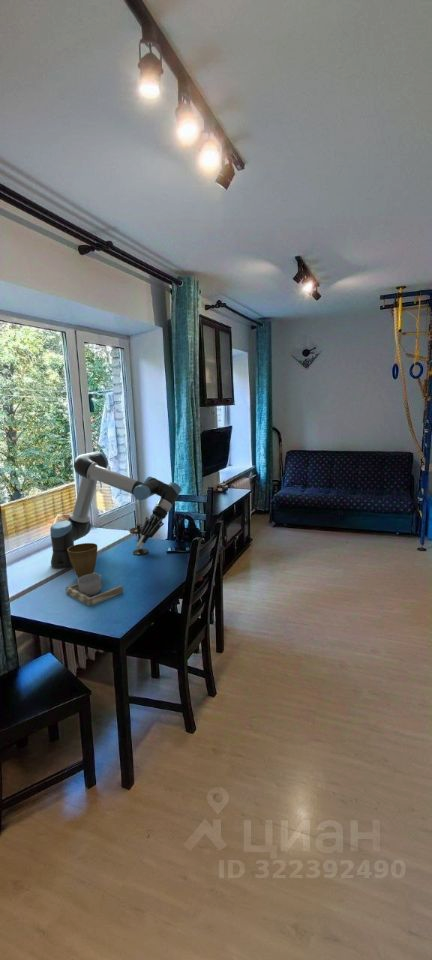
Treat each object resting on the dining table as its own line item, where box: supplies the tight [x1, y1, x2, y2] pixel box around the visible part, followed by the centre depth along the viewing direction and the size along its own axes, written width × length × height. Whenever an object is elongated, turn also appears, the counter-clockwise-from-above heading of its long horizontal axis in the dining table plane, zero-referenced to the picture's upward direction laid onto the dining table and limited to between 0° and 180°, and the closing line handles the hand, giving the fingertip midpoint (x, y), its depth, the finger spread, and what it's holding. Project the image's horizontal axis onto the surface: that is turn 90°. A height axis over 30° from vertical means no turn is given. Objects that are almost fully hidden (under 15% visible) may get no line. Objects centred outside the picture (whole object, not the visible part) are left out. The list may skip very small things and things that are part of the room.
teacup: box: [76, 571, 103, 597], centre depth 214 cm, size 14×11×8 cm
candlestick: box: [128, 497, 149, 556], centre depth 263 cm, size 11×11×35 cm
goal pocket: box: [65, 582, 124, 607], centre depth 213 cm, size 21×18×3 cm
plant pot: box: [67, 542, 98, 579], centre depth 233 cm, size 15×15×16 cm
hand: (138, 547), depth 228 cm, fingers closed
